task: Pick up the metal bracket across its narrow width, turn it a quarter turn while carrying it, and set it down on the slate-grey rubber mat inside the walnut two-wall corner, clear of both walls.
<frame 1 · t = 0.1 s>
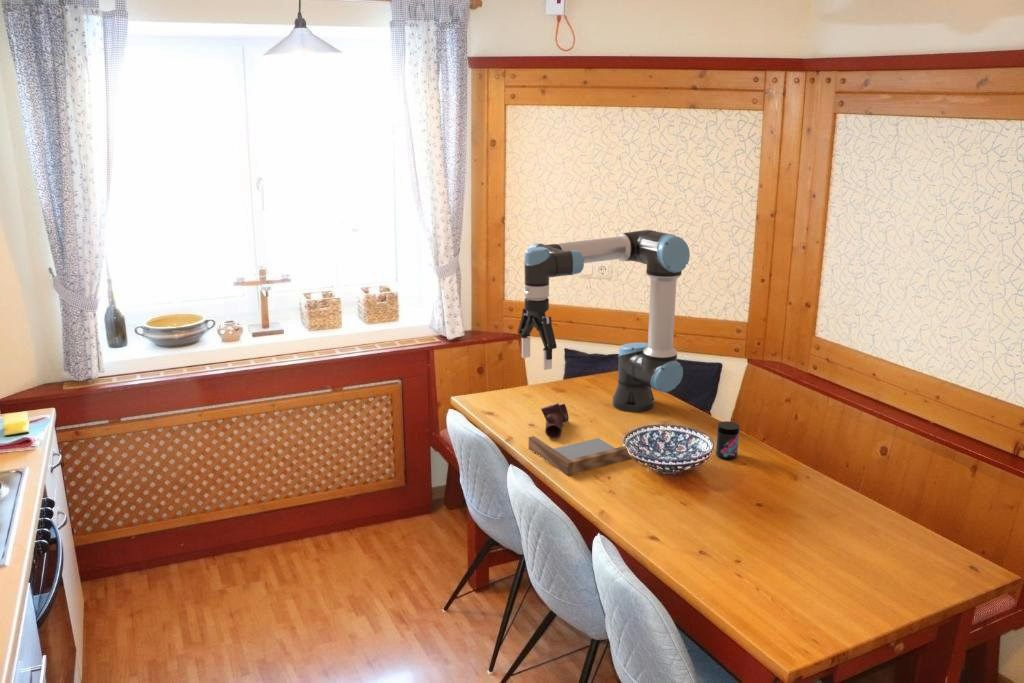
hand: (536, 363, 273), 28 cm above the table, tool pointing down, fingers open, 13 cm apart
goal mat: (582, 450, 276), on the table
supplement container: (726, 456, 271), on the table
bracket: (554, 429, 293), on the table
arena: (581, 452, 274), on the table
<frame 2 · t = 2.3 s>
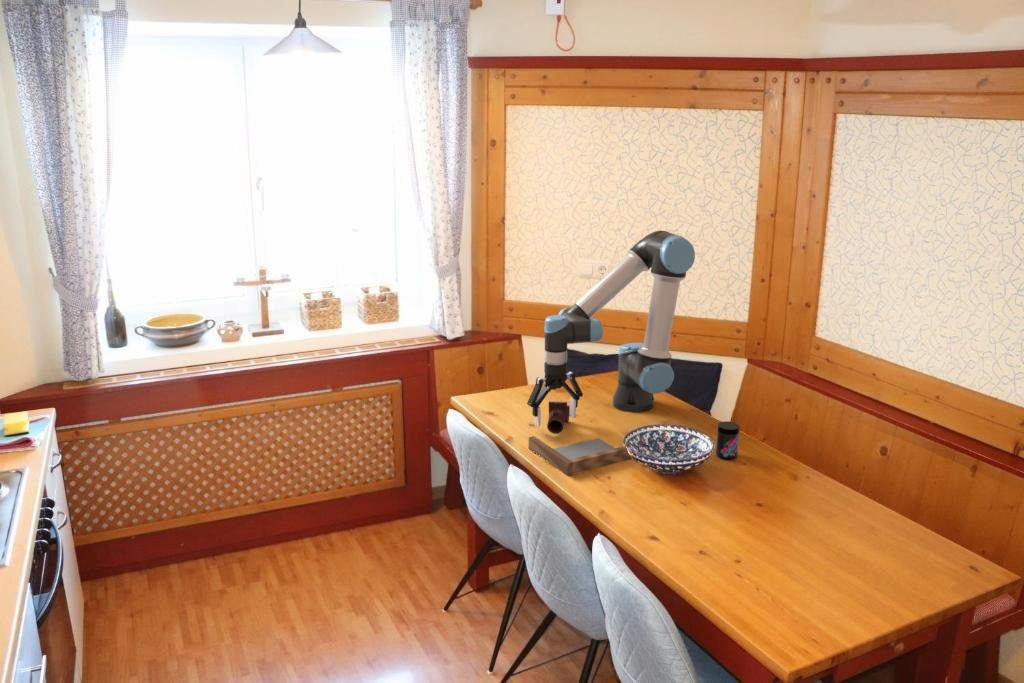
hand: (555, 421, 293), 3 cm above the table, tool pointing down, fingers open, 13 cm apart
bracket: (553, 426, 293), point 1 cm above the table, touching gripper
everything else where it was.
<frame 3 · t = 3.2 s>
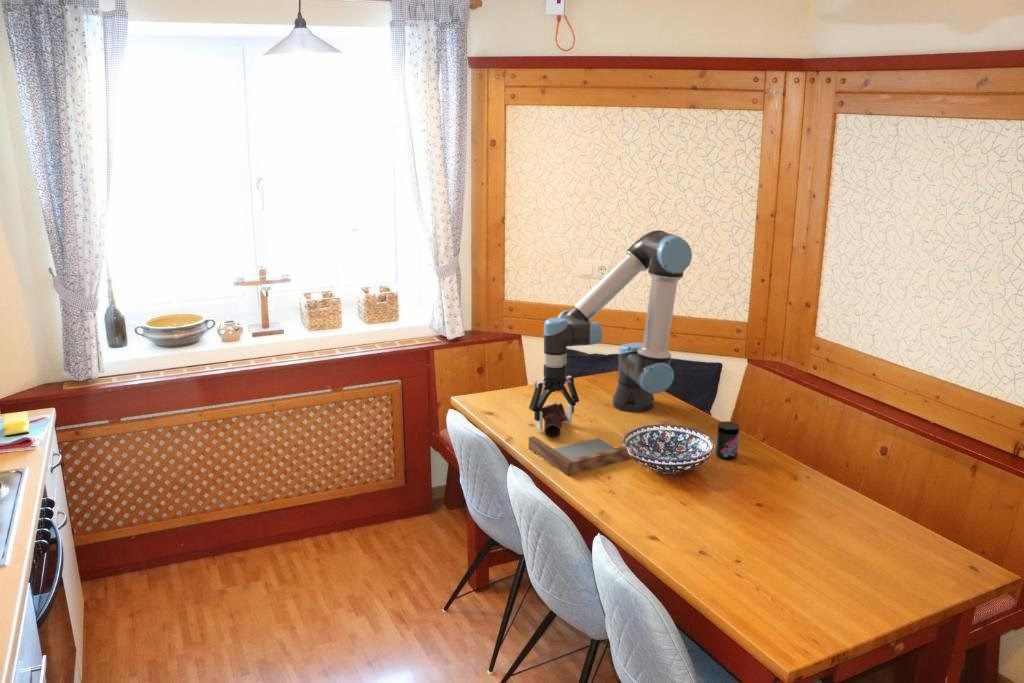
hand: (554, 425, 293), 1 cm above the table, tool pointing down, fingers closed on bracket, 11 cm apart
bracket: (552, 429, 293), on the table, touching gripper
everything else where it was.
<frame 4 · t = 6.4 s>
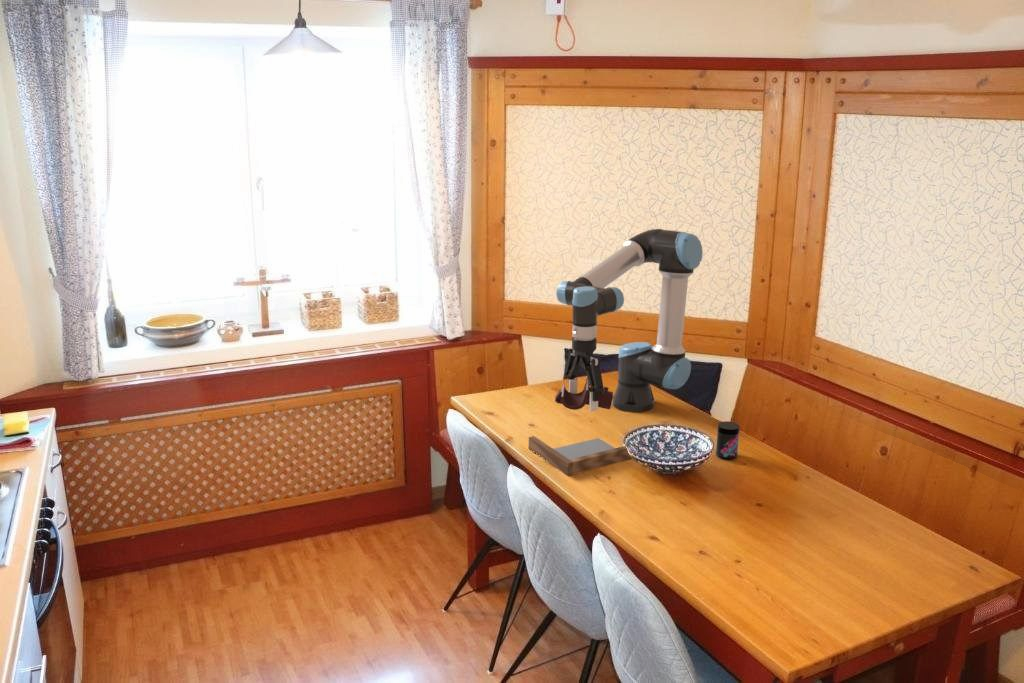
hand: (583, 404, 271), 16 cm above the table, tool pointing down, fingers closed on bracket, 11 cm apart
bracket: (583, 409, 271), point 14 cm above the table, touching gripper
everything else where it was.
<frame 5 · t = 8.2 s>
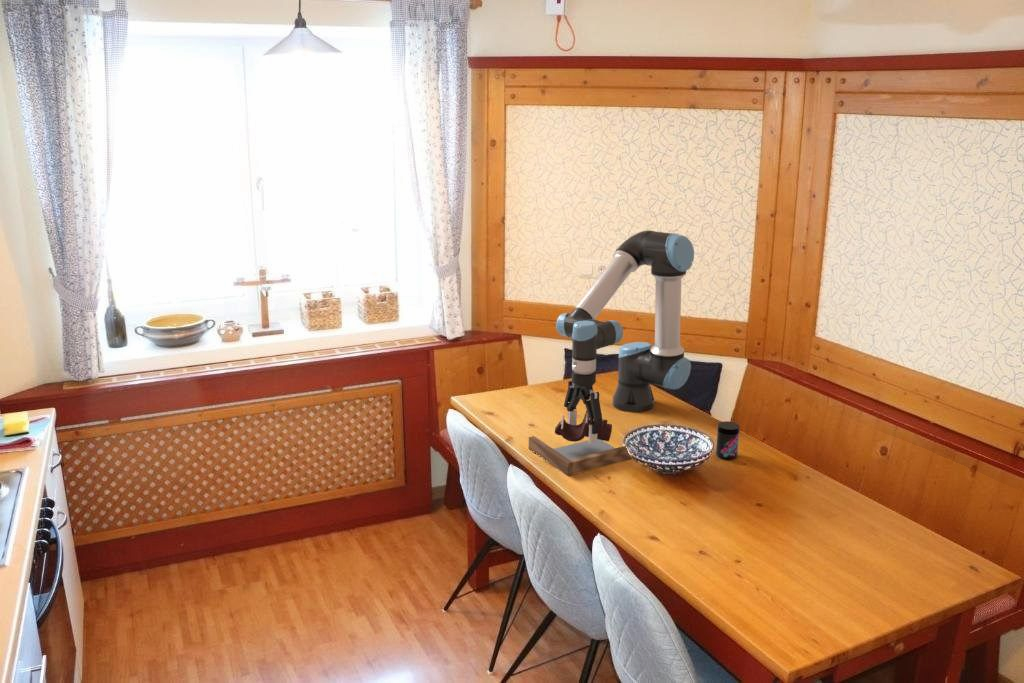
hand: (582, 436, 274), 5 cm above the table, tool pointing down, fingers closed on bracket, 11 cm apart
bracket: (583, 441, 274), point 4 cm above the table, touching gripper
everything else where it was.
when the fingers open (3 cm above the table, at t = 9.7 s): bracket drops 2 cm, resting on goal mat.
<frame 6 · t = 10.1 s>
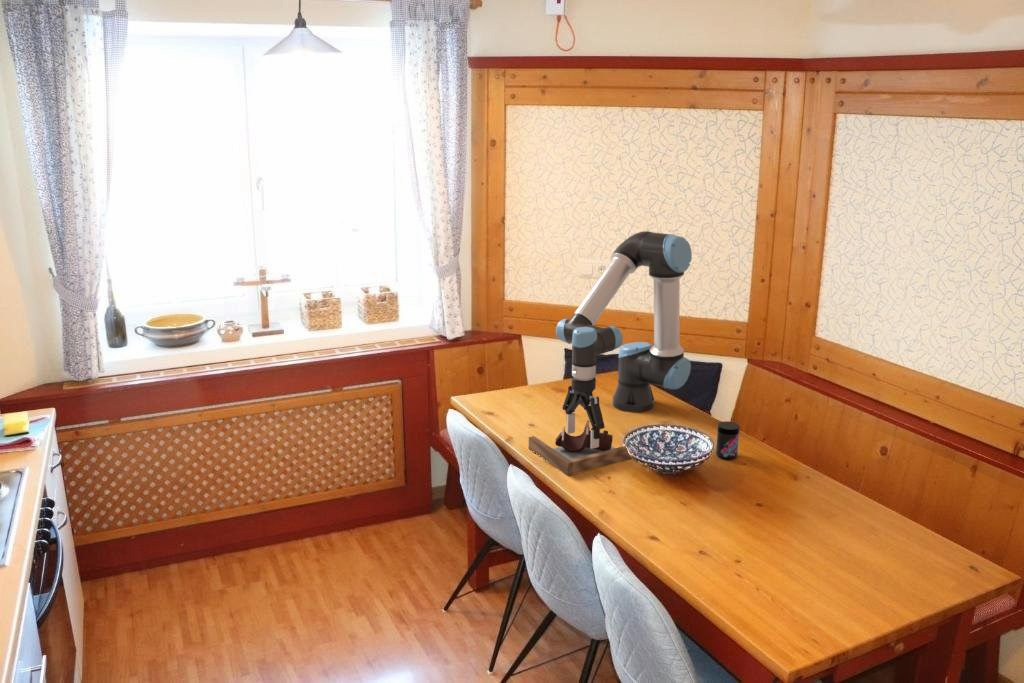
hand: (582, 440, 274), 4 cm above the table, tool pointing down, fingers open, 13 cm apart
bracket: (583, 451, 275), resting on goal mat
everything else where it was.
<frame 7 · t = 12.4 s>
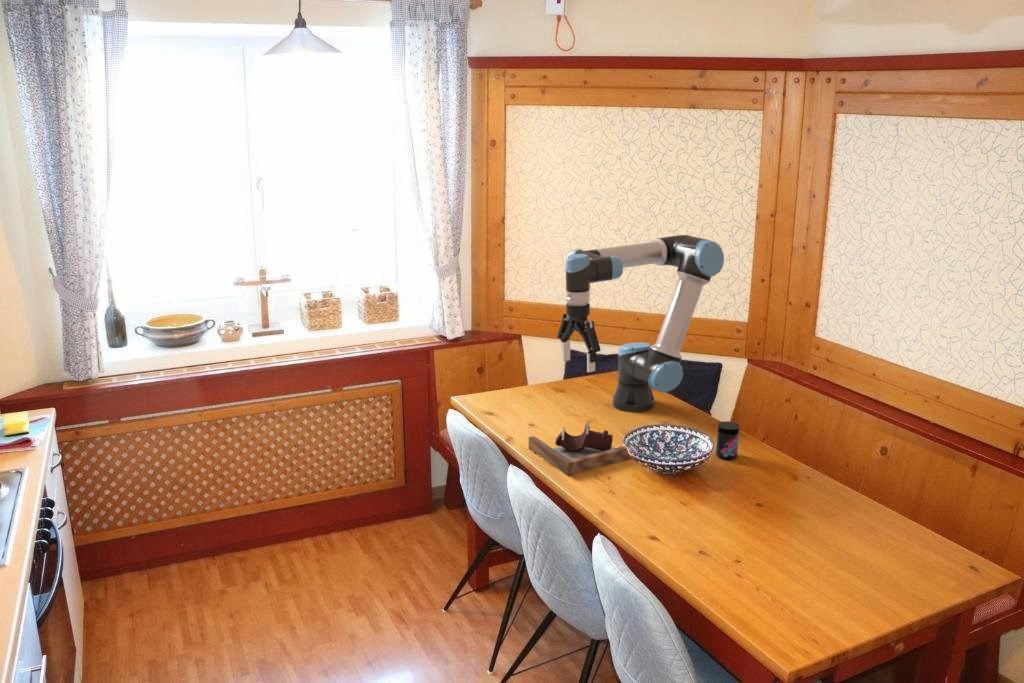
hand: (578, 365, 282), 24 cm above the table, tool pointing down, fingers open, 13 cm apart
nothing on the table moved.
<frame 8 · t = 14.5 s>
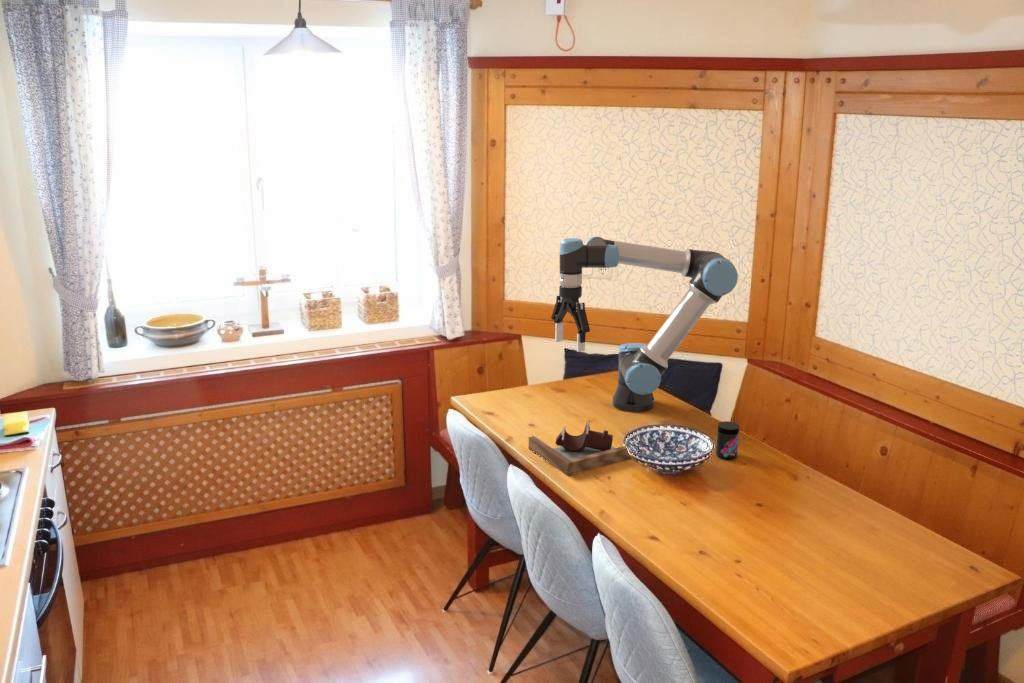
hand: (569, 346, 294), 27 cm above the table, tool pointing down, fingers open, 13 cm apart
nothing on the table moved.
at the end: bracket inside the target area (0.9 cm from its centre), resting on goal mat; bracket touching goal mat; the gripper is holding nothing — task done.
